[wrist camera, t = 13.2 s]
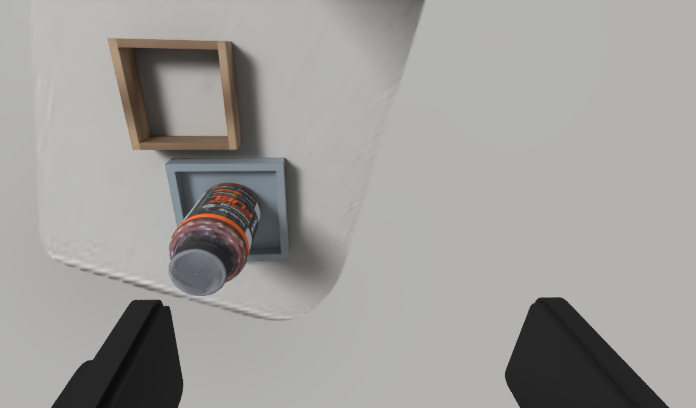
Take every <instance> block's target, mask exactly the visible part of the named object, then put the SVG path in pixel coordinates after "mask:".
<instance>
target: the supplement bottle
mask: <svg viewBox="0 0 696 408" xmlns="http://www.w3.org/2000/svg"><path fill="white" fill-rule="evenodd" d="M260 217H261V208H260V204H259V201H258V199H257V198H256V196H255V195H254V194H253V193H252V192H251V191H250V190H249V189H247V188H246V187H244V186H241V185H240V184H235V183H220V184H216V185H214V186H212V187H211V188H209V189H208V190H207V191H206V192H205V193H204V194H203V195H202V197H201V198H200V199H199V200H198V202H197V203H196V204H195V206H194V207H193V208H192V210H191V211H190V212H189V213H188V215H187V216H186V217H185V219H184V220H183V221H182V223H181V224H180V225H179V227H178V228H177V229H176V231H175V232H174V234H173V236H172V238H171V240H170V244H169V255H170V259H171V262H170V265H169V276H170V278H171V280H172V282H173V283H174V285H175V286H176V287H178V289H180V290H181V291H183V292H185V293H187V294H190V295H196V296H206V295H210V294H213V293H215V292H217V291H218V290H219V289H221V288H222V286H223V285H224V283H225V282H228V281H230V280H231V279H233V278H234V277H236V276H237V275H238V274H239V273H240V272H241V270H242V269H243V267H244V266H245V264H246V261H247V258H248V255H249V252H250V249H251V246H252V243H253V240H254V237H255V234H256V231H257V228H258V225H259V222H260Z"/></svg>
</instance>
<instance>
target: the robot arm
mask: <svg viewBox="0 0 696 408" xmlns="http://www.w3.org/2000/svg"><path fill="white" fill-rule="evenodd" d="M505 379H506V382H507V385H508V387H509V389H510V391H511V392H512V394H513V396H514V398H515V399H516V401H517V403H518V405H519V406H520V408H669V407H668V406H667V405H666V404H665V403H664V402H663V401H662V400H661V399H660V398H659V397H658V396H657V395H656V394H655V392H654V391H653V390H652V389H651V388H650V387H649V386H648V385H647V384H646V383H645V382H644V381H643V380H642V379H641V378H640V377H639V376H638V375H637V374H636V373H635V372H634V371H633V370H632V368H631V367H629V365H627V363H626V362H625V361H624V360H623V359H622V358H621V357H620V356H619V355H618V354H617V353H616V352H615V351H614V350H613V349H612V348H611V347H610V346H609V345H608V344H607V343H606V341H605V340H604V339H603V338H602V337H601V336H600V335H599V334H598V333H597V332H596V331H595V330H594V329H593V328H592V327H591V326H590V325H589V324H588V323H587V322H586V321H585V319H584V318H582V316H580V314H579V313H578V312H577V311H576V310H575V309H574V308H573V307H572V306H571V305H570V304H569V303H568V302H567V301H566V300H565V299H563V298H560V297H559V298H558V297H557V298H538V299H537V300H536V302H535V303H533V304H532V305H531V306H530V309H529V311H528V314H527V316H526V319H525V322H524V324H523V327H522V329H521V332H520V335H519V337H518V340H517V343H516V345H515V348H514V350H513V353H512V355H511V358H510V361H509V363H508V366H507V368H506V371H505ZM182 391H183V379H182V373H181V367H180V361H179V355H178V350H177V344H176V338H175V333H174V328H173V321H172V316H171V310H170V307H169V306H163V304H162V302H161V300H134V301H132V302H131V303H130V304H129V306H128V307H127V309H126V310H125V312H124V313H123V315H122V316H121V318H120V319H119V321H118V323H117V324H116V325H115V327H114V329H113V330H112V332H111V333H110V335H109V336H108V338H107V339H106V341H105V342H104V344H103V345H102V347H101V349H100V350H99V351H98V353H97V354H96V356H95V358H94V359H93V360H89V361H86V362H85V363H83V364H82V365H81V366H80V367H79V368H78V369H77V371H76V372H75V373H74V375H73V376H72V378H71V379H70V381H69V382H68V384H67V385H66V387H65V388H64V390H63V391H62V393H61V394H60V395H59V397H58V398H57V400H56V401H55V403H54V404H53V406H52V408H178V405H179V402H180V400H181V396H182Z"/></svg>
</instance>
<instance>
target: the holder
mask: <svg viewBox="0 0 696 408" xmlns="http://www.w3.org/2000/svg"><path fill="white" fill-rule="evenodd" d="M107 39H108V43H109V47H110V52H111V56H112V61H113V65H114V69H115V74H116V78H117V83H118V87H119V91H120V96H121V100H122V104H123V109H124V113H125V118H126V122H127V126H128V131H129V135H130V140H131V144H132V148H133V150H237V148H238V147H239V146H240V144H241V143H242V141H241V131H240V121H239V111H238V101H237V91H236V81H235V71H234V61H233V51H232V42H228V41H193V40H154V39H116V38H107ZM133 48H172V49H214V50H218V54H219V63H220V71H221V80H222V89H223V97H224V106H225V115H226V123H227V132H228V136H151V134H150V129H149V124H148V119H147V114H146V110H145V105H144V100H143V95H142V90H141V85H140V80H139V75H138V70H137V65H136V60H135V55H134V51H133Z"/></svg>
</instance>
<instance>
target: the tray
mask: <svg viewBox="0 0 696 408" xmlns="http://www.w3.org/2000/svg"><path fill="white" fill-rule="evenodd" d="M165 167H166V172H167V177H168V182H169V187H170V192H171V198H172V203H173V208H174V213H175V218H176V223H177V228H178V227H179V225H180V224H181V223H182V221H183V220H184V219H185V217H186V216H187V215H188V213H189V212H190V211H191V210H192V208H193V207H194V206H195V204H196V203H197V202H198V200H199V199H200V198H201V197H202V195H203V194H204V193H205V192H206V191H207V190H208V189H209V188H211V187H212V186H214V185H216V184H220V183H235V184H240V185H241V186H244V187H246V188H247V189H249V190H250V191H251V192H252V193H253V194H254V195H255V196H256V198H257V199H258V201H259V204H260V208H261V217H260V222H259V225H258V228H257V231H256V234H255V237H254V240H253V243H252V246H251V249H250V252H249V255H248V258H247V261H262V260H288V258H289V235H288V215H287V196H286V176H285V158H172V159H171V160H169V161H168V162H167V163H166V164H165Z"/></svg>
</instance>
